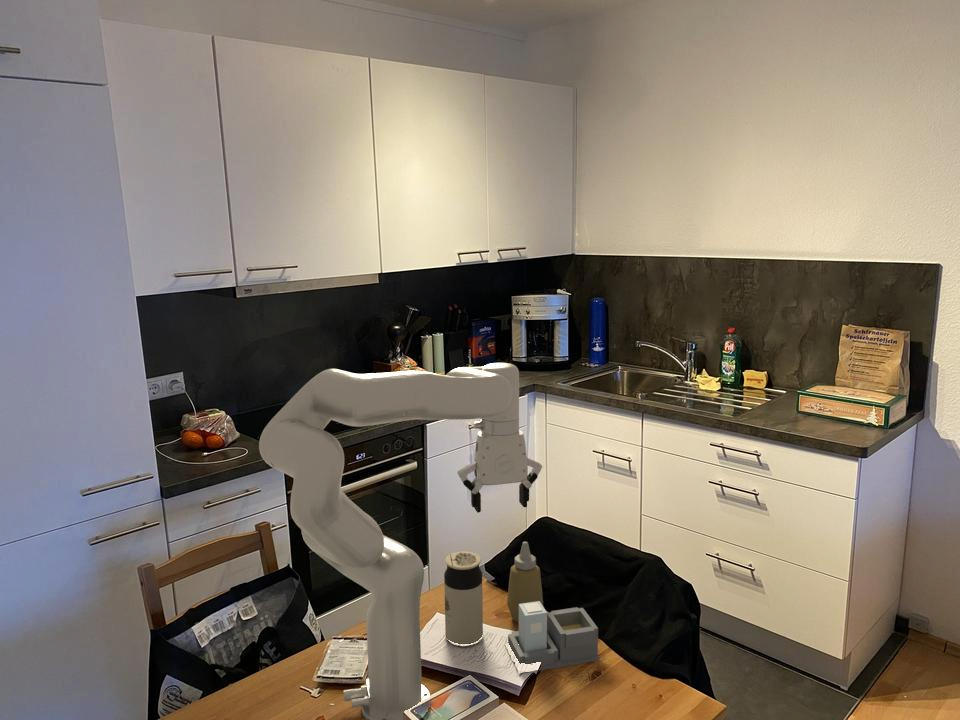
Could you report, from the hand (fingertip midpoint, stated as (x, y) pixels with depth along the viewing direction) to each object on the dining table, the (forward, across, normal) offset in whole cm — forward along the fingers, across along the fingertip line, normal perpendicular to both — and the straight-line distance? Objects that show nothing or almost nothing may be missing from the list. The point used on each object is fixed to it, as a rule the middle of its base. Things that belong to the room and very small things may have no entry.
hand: (500, 507), depth 144 cm
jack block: (+30, +9, -6) cm, 32 cm away
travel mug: (+31, -7, +4) cm, 32 cm away
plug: (+30, +5, -6) cm, 31 cm away
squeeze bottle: (+31, +8, +8) cm, 32 cm away
